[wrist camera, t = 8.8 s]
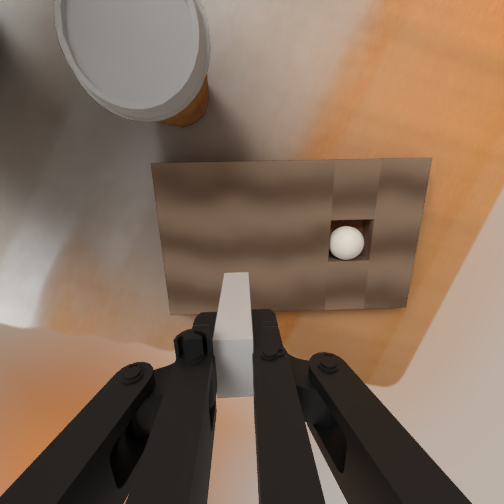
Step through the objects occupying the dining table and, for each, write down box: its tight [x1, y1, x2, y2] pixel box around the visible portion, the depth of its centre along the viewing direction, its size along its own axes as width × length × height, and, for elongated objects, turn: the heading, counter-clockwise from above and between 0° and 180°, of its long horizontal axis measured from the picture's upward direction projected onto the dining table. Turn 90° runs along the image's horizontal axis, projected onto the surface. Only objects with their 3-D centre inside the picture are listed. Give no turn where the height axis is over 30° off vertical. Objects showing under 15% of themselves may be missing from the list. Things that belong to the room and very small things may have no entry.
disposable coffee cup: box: [54, 0, 210, 127], centre depth 21 cm, size 10×10×12 cm
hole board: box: [151, 158, 432, 315], centre depth 30 cm, size 18×30×2 cm, turn 91°
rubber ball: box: [329, 226, 364, 260], centre depth 30 cm, size 4×4×4 cm
